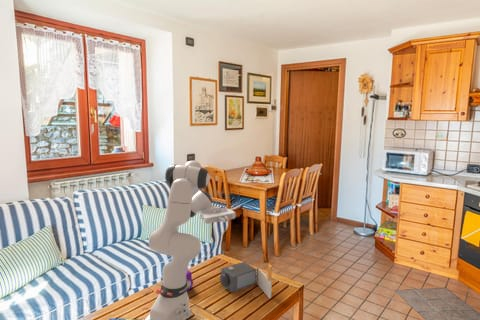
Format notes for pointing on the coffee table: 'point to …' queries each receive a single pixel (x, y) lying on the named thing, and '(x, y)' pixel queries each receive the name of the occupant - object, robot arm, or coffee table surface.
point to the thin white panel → (264, 280)
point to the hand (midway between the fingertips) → (226, 220)
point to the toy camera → (189, 280)
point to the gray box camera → (238, 276)
